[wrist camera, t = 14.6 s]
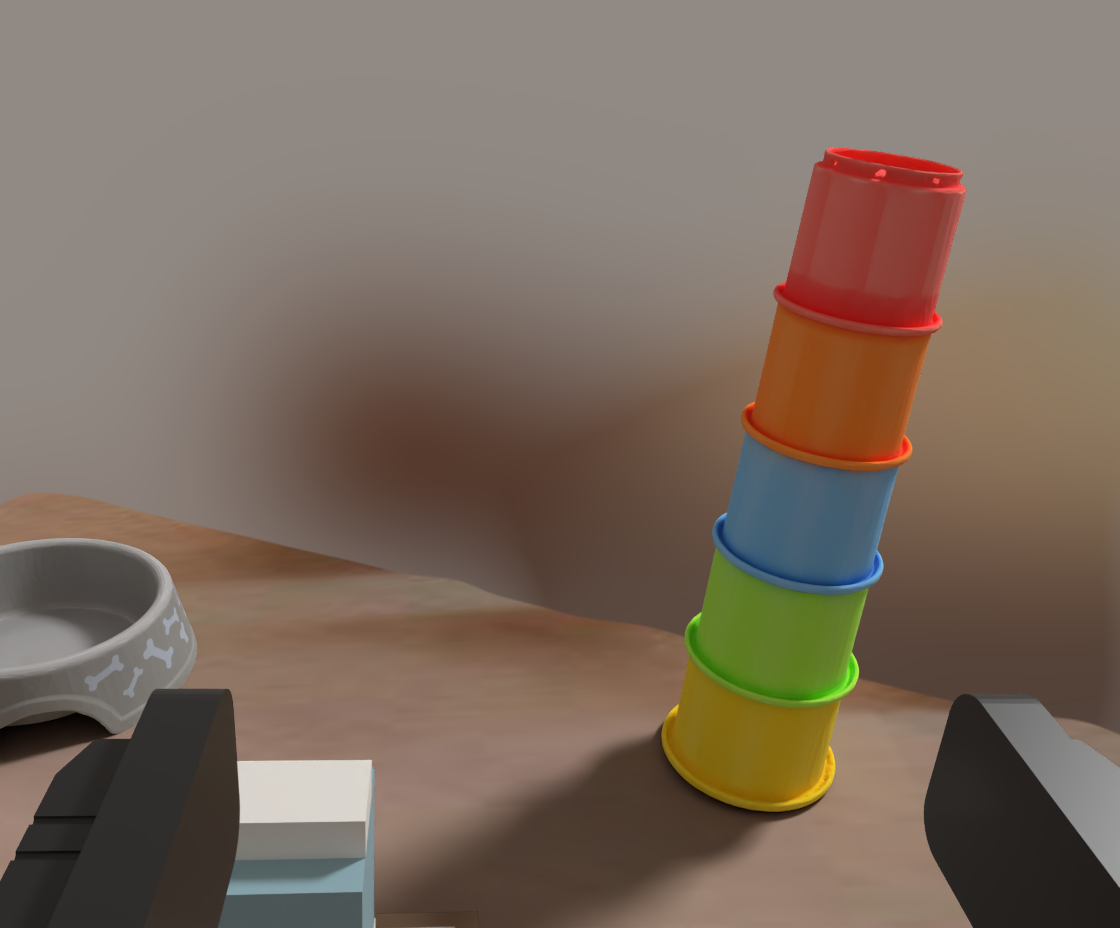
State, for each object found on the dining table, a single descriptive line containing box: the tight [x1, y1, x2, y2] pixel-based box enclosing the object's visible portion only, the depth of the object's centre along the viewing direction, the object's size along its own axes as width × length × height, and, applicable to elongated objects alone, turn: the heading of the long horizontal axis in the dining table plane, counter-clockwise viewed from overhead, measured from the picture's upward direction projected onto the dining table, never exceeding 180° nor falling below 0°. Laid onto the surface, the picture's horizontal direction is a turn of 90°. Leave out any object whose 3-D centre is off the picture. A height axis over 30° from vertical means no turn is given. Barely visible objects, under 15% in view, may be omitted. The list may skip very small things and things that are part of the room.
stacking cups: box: [661, 148, 966, 812], centre depth 54 cm, size 10×10×35 cm
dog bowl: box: [0, 538, 197, 734], centre depth 62 cm, size 17×18×5 cm
